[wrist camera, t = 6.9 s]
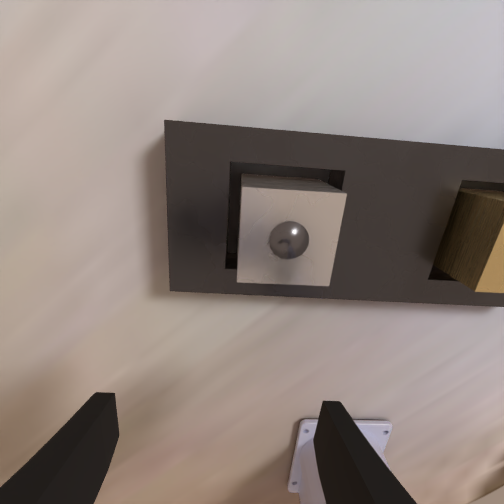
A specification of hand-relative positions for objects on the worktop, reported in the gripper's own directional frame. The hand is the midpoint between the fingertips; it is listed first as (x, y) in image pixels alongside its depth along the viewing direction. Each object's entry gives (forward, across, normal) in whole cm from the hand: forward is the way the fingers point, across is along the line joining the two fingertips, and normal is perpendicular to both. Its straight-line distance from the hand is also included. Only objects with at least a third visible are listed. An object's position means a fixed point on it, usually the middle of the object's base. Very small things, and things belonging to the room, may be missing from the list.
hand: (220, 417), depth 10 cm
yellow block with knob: (+10, -14, -5) cm, 18 cm away
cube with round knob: (+10, -2, -5) cm, 11 cm away
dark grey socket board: (+10, -8, -5) cm, 14 cm away
